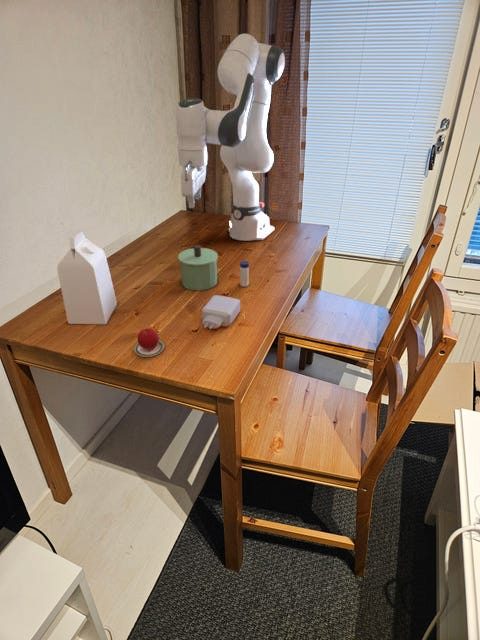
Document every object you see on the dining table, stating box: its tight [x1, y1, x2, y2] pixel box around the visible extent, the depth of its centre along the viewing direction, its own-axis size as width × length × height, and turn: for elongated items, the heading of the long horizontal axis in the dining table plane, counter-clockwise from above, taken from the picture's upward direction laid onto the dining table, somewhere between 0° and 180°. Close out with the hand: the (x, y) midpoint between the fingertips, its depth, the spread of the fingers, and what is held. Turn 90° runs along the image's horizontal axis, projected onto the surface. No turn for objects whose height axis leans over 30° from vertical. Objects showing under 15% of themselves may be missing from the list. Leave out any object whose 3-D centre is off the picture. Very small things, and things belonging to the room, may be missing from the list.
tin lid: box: [177, 244, 219, 266], centre depth 140 cm, size 14×14×5 cm
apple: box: [133, 327, 165, 358], centre depth 111 cm, size 8×8×6 cm
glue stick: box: [239, 260, 250, 288], centre depth 142 cm, size 3×3×8 cm
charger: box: [201, 294, 241, 330], centre depth 123 cm, size 5×9×15 cm
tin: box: [179, 259, 218, 291], centre depth 144 cm, size 13×13×10 cm
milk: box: [56, 230, 118, 325], centre depth 122 cm, size 12×12×26 cm
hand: (194, 203), depth 134 cm, fingers open, 8 cm apart
